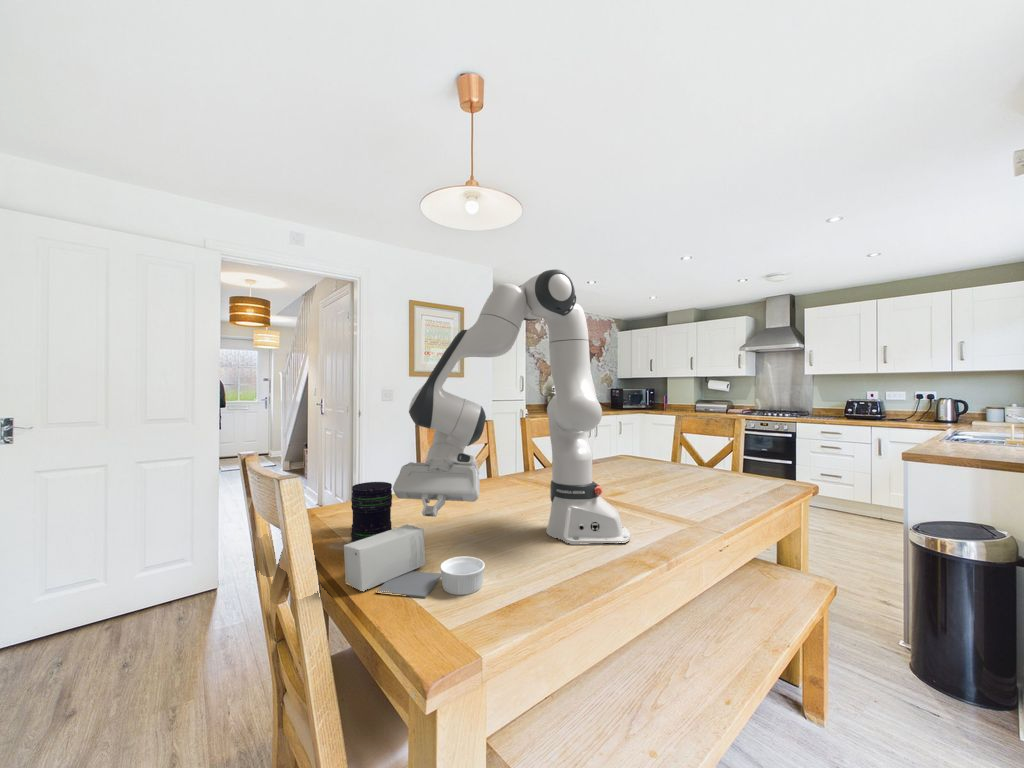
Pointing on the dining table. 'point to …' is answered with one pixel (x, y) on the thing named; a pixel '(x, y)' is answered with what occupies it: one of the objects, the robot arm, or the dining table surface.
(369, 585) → the skincare box
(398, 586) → the mat
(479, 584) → the ramekin
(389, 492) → the black cylinder
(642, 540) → the dining table surface
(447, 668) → the dining table surface
